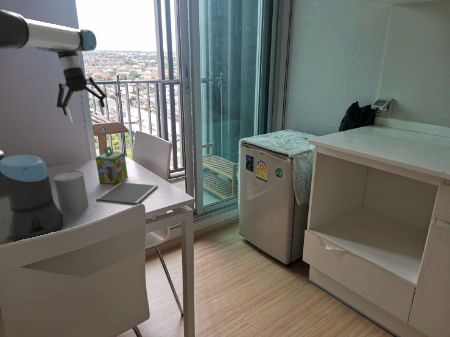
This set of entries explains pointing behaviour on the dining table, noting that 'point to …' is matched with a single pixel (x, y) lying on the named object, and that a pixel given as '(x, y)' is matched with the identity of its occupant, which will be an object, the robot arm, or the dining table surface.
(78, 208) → the grey cylinder
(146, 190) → the mat
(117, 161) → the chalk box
